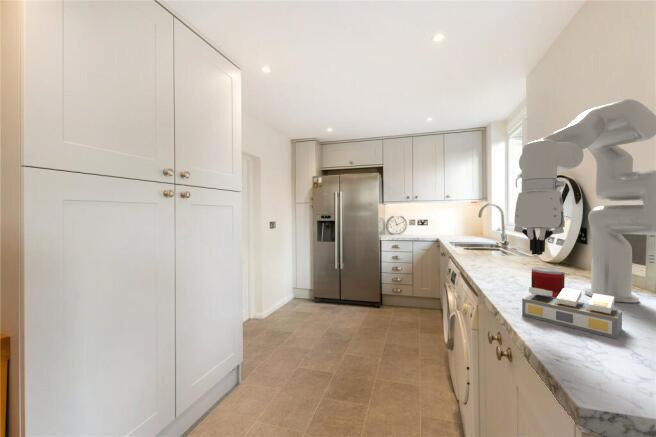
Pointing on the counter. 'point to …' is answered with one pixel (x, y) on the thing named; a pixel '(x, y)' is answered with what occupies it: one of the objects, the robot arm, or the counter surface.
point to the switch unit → (573, 315)
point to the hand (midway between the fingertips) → (537, 254)
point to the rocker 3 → (601, 303)
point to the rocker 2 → (569, 297)
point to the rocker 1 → (540, 291)
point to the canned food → (548, 280)
